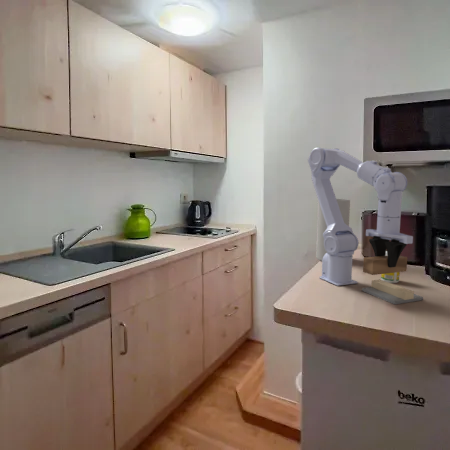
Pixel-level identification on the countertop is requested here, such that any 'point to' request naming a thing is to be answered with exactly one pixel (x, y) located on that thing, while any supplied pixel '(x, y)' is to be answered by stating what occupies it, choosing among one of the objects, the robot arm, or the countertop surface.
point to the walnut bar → (383, 265)
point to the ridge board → (389, 297)
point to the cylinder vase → (321, 225)
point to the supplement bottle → (390, 276)
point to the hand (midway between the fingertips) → (385, 265)
